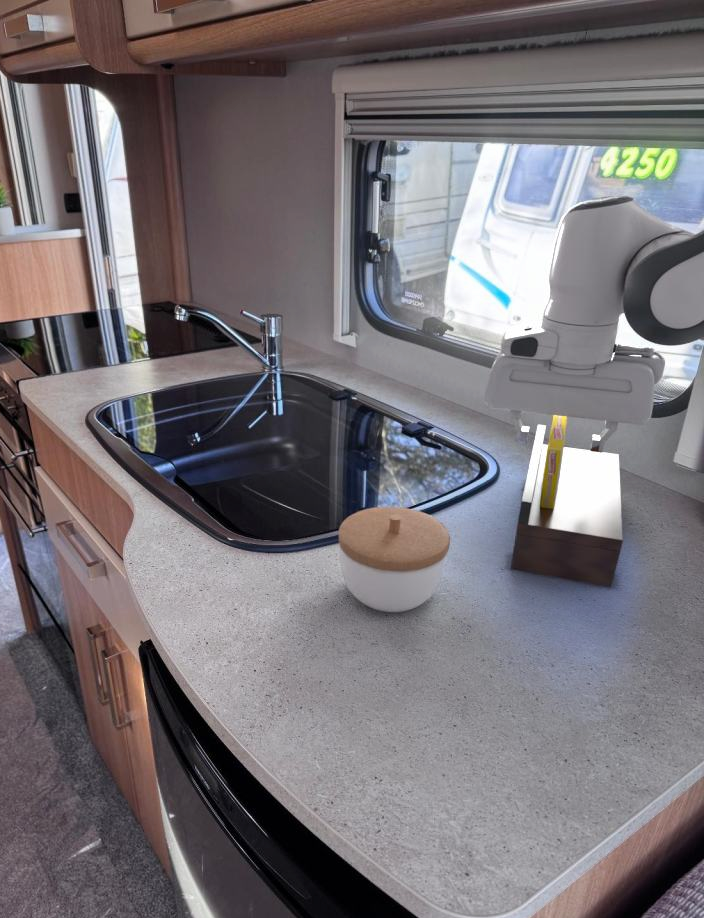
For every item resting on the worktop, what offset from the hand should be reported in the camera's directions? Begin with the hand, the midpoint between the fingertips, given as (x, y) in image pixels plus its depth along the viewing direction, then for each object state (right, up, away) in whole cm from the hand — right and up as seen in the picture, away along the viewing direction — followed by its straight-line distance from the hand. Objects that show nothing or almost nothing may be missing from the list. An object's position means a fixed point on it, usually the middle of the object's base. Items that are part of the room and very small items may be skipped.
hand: (558, 445), depth 95 cm
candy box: (0, -5, +3) cm, 6 cm away
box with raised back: (+3, -12, +6) cm, 13 cm away
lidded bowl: (-23, -19, -8) cm, 31 cm away
